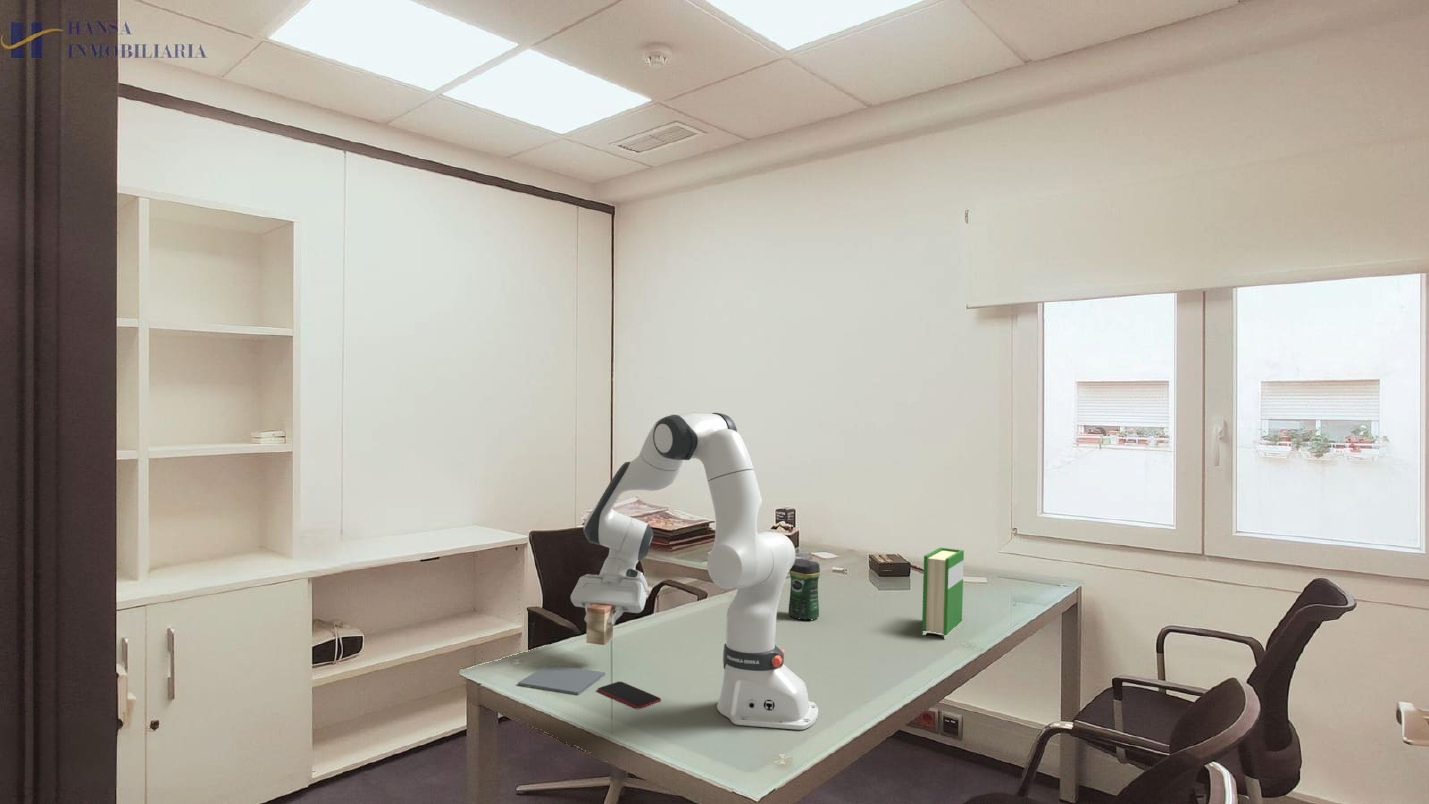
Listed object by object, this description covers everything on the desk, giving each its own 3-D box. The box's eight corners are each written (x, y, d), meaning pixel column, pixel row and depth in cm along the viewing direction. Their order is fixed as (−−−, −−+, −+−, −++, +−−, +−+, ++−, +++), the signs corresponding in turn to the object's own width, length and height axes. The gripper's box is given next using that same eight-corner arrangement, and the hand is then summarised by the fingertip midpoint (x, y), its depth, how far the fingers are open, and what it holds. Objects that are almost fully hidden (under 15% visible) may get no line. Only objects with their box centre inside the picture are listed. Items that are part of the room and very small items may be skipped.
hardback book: (946, 639, 224) (948, 559, 224) (921, 635, 228) (924, 555, 228) (961, 626, 239) (963, 550, 239) (938, 621, 243) (940, 547, 243)
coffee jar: (823, 618, 243) (824, 561, 243) (807, 622, 238) (808, 564, 238) (799, 612, 250) (801, 556, 250) (784, 616, 245) (785, 558, 245)
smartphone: (638, 707, 167) (596, 688, 177) (638, 711, 167) (595, 692, 177) (662, 698, 172) (620, 680, 183) (662, 702, 172) (620, 684, 183)
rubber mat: (605, 674, 188) (605, 672, 188) (578, 694, 174) (578, 692, 174) (548, 666, 193) (548, 663, 193) (517, 685, 179) (518, 682, 179)
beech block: (612, 639, 196) (613, 604, 196) (604, 645, 192) (604, 609, 192) (595, 637, 198) (595, 603, 198) (586, 642, 193) (587, 607, 193)
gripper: (577, 567, 205) (558, 612, 195) (647, 573, 198) (631, 620, 189) (585, 580, 209) (567, 624, 200) (653, 586, 203) (638, 633, 193)
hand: (598, 622), depth 194 cm, fingers closed on beech block, 5 cm apart
